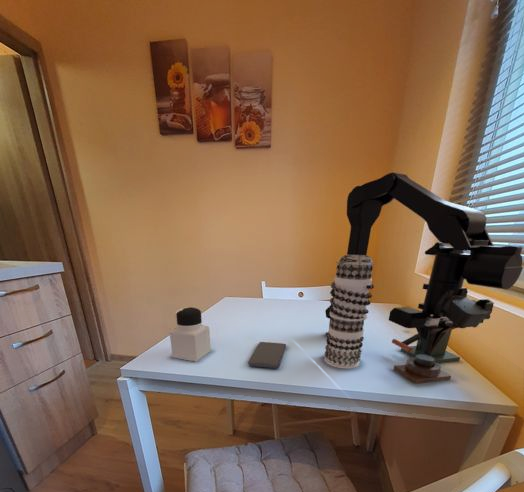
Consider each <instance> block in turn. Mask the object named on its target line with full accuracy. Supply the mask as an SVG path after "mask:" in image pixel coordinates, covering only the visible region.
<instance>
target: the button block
mask: <svg viewBox="0 0 524 492" xmlns="http://www.w3.org/2000/svg"><path fill="white" fill-rule="evenodd" d="M415 358H416V357H409V358H407V360H406V362H405V364H398V365H393V371H395V372H397V373H398V374H400V375H401V376H403V378H405V379H407V380H408V381H410V382H411V383H413V384H414V385H418V384H419V385H420V384H427V383H433V382H435V383H436V382H443V381H450V380H451V377H452V375H451V374H449V373H447V372H445V371H443V370H442V366H441V364H440V363H437V362H435V361H434V363H433V367H430V368H428V367H422V366H418V365H416V364H415V363H414V362H415Z"/></svg>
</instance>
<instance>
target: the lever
mask: <svg viewBox="0 0 524 492" xmlns="http://www.w3.org/2000/svg"><path fill="white" fill-rule="evenodd" d="M419 339H420V338H419V335H418V333H417V334H414V335H412V336H410V337H409V338H407V339H405V340H403V341H399V340H398V339H396V338H393V339H392V340H391V343H392V344H393V345H395V346H397V347H399V348H400V349H401V348H402V349H404V350H406V351H408V352H411V351H412V348H411V347H410V346H409V345H411V344H413V343H415V342H417V341H418V340H419Z"/></svg>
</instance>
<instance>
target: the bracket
mask: <svg viewBox="0 0 524 492" xmlns="http://www.w3.org/2000/svg"><path fill="white" fill-rule="evenodd" d="M452 331H453V330H451V331H448V332H447V333H446V334H445V335H444V336H443V337H442V339H441V340H440V341H439V343H438V344H437V345H436V347H435V348H434V349H433V351H432V352H431V353H430V354H425V353H424V352H423V349H422V345H421V342H420V339H419V340H417V341H416V345H411V346H410V347H411V348H412V351H411V352H408V351H406V350H404V349H402V348H401V347H400V351H401V352H402V353H404V354H406V355H408V356H410V358H412V357H416V355H419V354H423V355H428V356H431V357H433V358H434V359H435V360H434V361H435V362H437V363H439V364H444V363H454V362H459V361H460V360H461V357H460V356H458V355H456V354H454V353H452V352H449V351H448V350H447V347H448V344H449V341H450V338H451V334H452Z"/></svg>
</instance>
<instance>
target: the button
mask: <svg viewBox="0 0 524 492" xmlns="http://www.w3.org/2000/svg"><path fill="white" fill-rule="evenodd" d="M434 360H435V359H434V358H433V357H431V356H428V355H423V354H419V355H416V358H415V362H414V363H415V364H416V365H418V366H422V367H428V368H430V367H433V363H434Z"/></svg>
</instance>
